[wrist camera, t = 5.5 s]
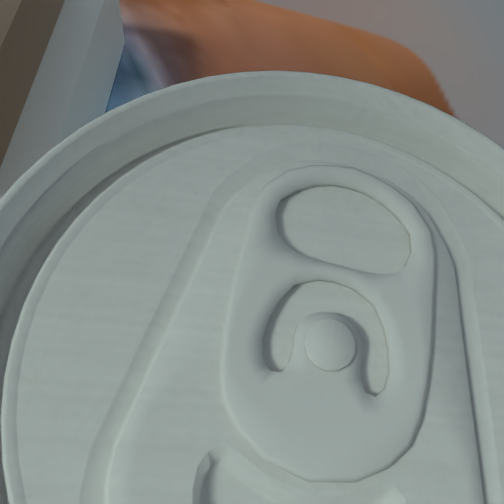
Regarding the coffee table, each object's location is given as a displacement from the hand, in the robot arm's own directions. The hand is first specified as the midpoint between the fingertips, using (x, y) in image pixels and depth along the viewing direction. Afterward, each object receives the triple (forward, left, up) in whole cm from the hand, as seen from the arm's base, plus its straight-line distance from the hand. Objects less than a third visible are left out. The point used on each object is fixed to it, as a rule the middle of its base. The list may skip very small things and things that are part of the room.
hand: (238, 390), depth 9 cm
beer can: (0, -1, -9) cm, 9 cm away
